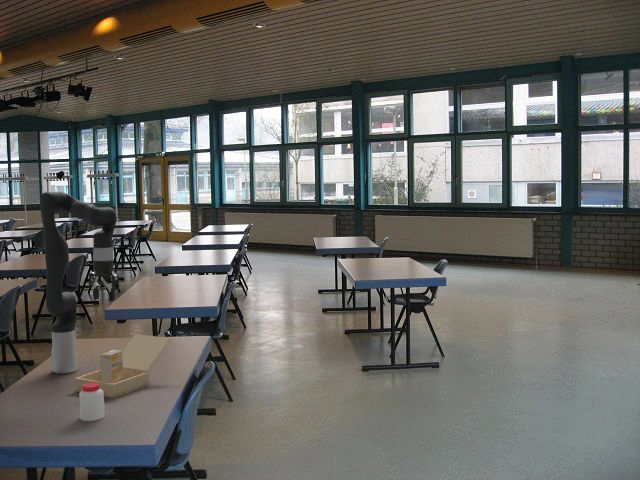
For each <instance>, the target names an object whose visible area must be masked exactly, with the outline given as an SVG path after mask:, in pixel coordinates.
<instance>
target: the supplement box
mask: <svg viewBox="0 0 640 480" xmlns="http://www.w3.org/2000/svg"><path fill="white" fill-rule="evenodd" d="M122 351H123V350H122V349H111V350H109V351H106V352H104V353H101V354H99V356H100V357H99V359H100V370H101V382H105V383H111V384H114V383H117V382H120V381H123V369H124V368H123V362H122Z"/></svg>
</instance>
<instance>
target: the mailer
mask: <svg viewBox="0 0 640 480" xmlns="http://www.w3.org/2000/svg"><path fill="white" fill-rule="evenodd" d="M149 376H150V375H149V371H148V372H145V371H138V370H132V369H126V368H123V381H120V382H117V383H114V384H111V383H105V382H101V369H100V370H99V369H98V370H96V371H94V372H93V371H92V372H90V373H86V374H84V375H80V376H76V377H75V378H74V383H75V384H74V386H75V391H76V392H79V393H80V392H81V391H82V390H83V388H82V386H83V385H84V384H87V383H99V384H100V388H101V389H102V390H103V391H104V397H105V396H106V398H110V397H111V398H110V399H115V397H116V398H118V397H120V395H121V396H123V394H124V395H125V394H128V393H131V391H132V392H134V391H137V390H140V389H142V388H145V387H148V386H149V385H150V380H149ZM147 385H148V386H147ZM144 386H145V387H144ZM139 388H140V389H139Z"/></svg>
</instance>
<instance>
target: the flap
mask: <svg viewBox="0 0 640 480" xmlns="http://www.w3.org/2000/svg"><path fill="white" fill-rule="evenodd" d="M171 340H172V338H171V337H163V336H155V335H147V334H140V333H135V334H134V335H133V337H132V338H131V339H130V341H129V342H128V343H127V344H126V346H125V347H124V348H123V350H122V362H123V369H130V370H136V371H143V372H148V373H149V370H150V369H151V368H152V366H153V365H154V363H155V362H156V361H157V359H158V358H159V356H160V355H161V354H162V353H163V351H164V350H165V348H166V347H167V346H168V344H169V343H170V342H171Z"/></svg>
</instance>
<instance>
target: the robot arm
mask: <svg viewBox="0 0 640 480" xmlns="http://www.w3.org/2000/svg"><path fill="white" fill-rule="evenodd" d="M39 207H40V216H41V222H42V227H43V238H44V256H45V257H44V258H45V272H46V273H45V274H46V275H45V277H46V288H45V289H46V291H45V293H46V294H45V307H46V310H47V312H48V314H49V315H50V316H53V317H57V319H56V320H55V321H54V323H52V325H51V342H52V348H51V350H50V354H51V355H50V356H51V372H53V373H55V374H58V375H59V374H69V373H75V372H76V371H77V370H78V363H77V361H78V360H77V342H76V337H77V336H76V325H77V322H78V321H77V320H78V318H77V317H78V314H77V313H78V311H77V310H78V303H77V299H76V296H75V295H74V293H72V292H70V291H63V280H64V277H65V274H66V272H67V270H68V266H69V265H70V264H69V263H70V250H69V245H68V242H67V240H66V239H65V237H64V236H63V235H62V234H63V233H61V232H60V230H59V228H58V227H57V224H56V219H55V215H62V214H72V215H73V217H75V218H77V219H78V220H82V221H85V222H87V223H88V224H89V225H91V226H93V227H102V229H101V230H99V231H97V232H95V233H94V234H93V239H92V240H93V242H92V243H93V250H92V267H93V268H92V269H93V271H92V272H89V273H88V288H90V289H91V290H92V297H93V300H98V299H100V289H99V288H100V287H101V285H102V286H104V287H105V288H107V290H108V301H109V302H114V301H115V300H116V292H117V291H119V290H120V283H119V282H120V281H119V275H118V274H113V271H114V250H113V235H114V231H115V228H116V223H117V220H118V219H117V218H118V217H117V213H116V211H115V209H114V208H112V207H110V206H109V207H108V206H107V207H106V206H105V207H98V206H97V205H94V204H92V203H89V202H86V201H85V202H84V201H82V200H79V199H77V198H75V197H74V196H72V195H70V194H68V193H67V192H64V191H45V192H43V193H42V194H41V195H40V197H39Z"/></svg>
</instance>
